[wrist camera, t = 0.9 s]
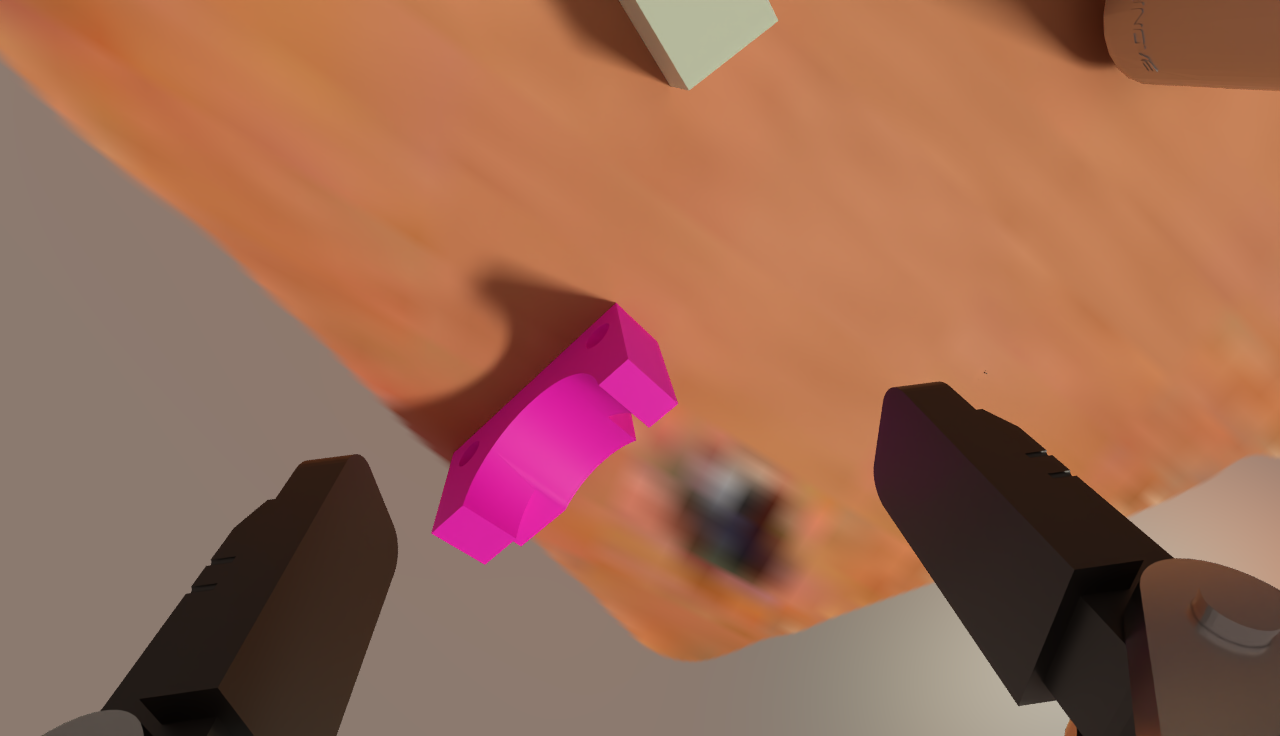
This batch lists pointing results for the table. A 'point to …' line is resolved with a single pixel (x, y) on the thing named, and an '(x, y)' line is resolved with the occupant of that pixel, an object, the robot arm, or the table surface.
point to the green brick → (697, 33)
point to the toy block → (553, 437)
